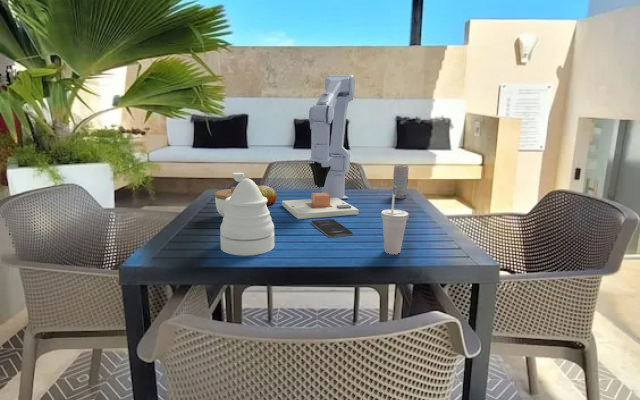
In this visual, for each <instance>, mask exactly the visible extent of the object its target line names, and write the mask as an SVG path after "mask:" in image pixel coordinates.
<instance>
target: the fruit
mask: <svg viewBox="0 0 640 400" xmlns="http://www.w3.org/2000/svg"><path fill="white" fill-rule="evenodd" d="M256 185H257V184H256ZM257 187H258V188H259V190H260V192H261V194H262V196H264V197H266V198H267V200H268V201H267V203H266V205H267V206H270V205H274V204H275V203H276V201H277V199H278V196H277V192H276V191H275V189H274V188H272V187H270V186H269V185H257Z"/></svg>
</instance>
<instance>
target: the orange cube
mask: <svg viewBox="0 0 640 400" xmlns="http://www.w3.org/2000/svg"><path fill="white" fill-rule="evenodd" d="M311 199H312V204H311V205H312V206H313V207H312V208H324V207H330V195H329V194H327V193H322V192H311Z"/></svg>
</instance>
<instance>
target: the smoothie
mask: <svg viewBox="0 0 640 400" xmlns="http://www.w3.org/2000/svg"><path fill="white" fill-rule="evenodd" d="M391 195H392V196H391V209H384V210H382V211H381V214H380V218H382V231H383V234H382V235H383V247H384V252H386V254H388V253H389V254H388V255H394V254H395V255H399V254H398V253H400V254H401V250H402V246H403V240H404V236H405V230H406V226H407V221H408V219H410V218H409V212H407V211H405V210H401V209H395V199H396V198H395V194H391Z"/></svg>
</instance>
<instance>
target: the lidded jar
mask: <svg viewBox="0 0 640 400" xmlns="http://www.w3.org/2000/svg"><path fill="white" fill-rule="evenodd" d="M235 188H236V186H230V188H228V189H227V188H225V189H221V190H217V191H215V192H214V198H215V207H216V210H217V212H218V214H220V216H221V217H223V218H224V212H225V211H226V209H227V206H228V205H227V204H226V203H225V199H226V198H228V197H230V196H231V195H232V193H233V191H234V189H235ZM223 218H222V219H223Z"/></svg>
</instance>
